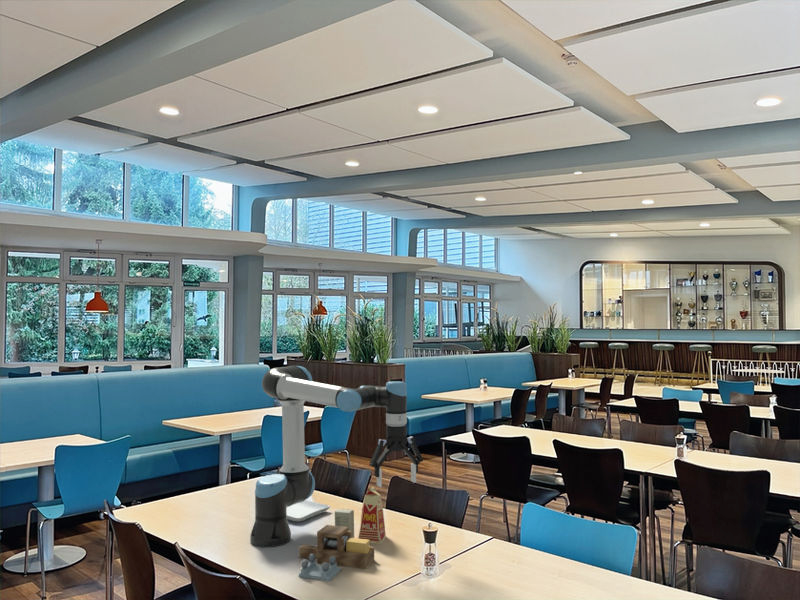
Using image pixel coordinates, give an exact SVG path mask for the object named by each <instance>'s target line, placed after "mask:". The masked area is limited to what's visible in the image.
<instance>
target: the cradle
mask: <svg viewBox="0 0 800 600" xmlns="http://www.w3.org/2000/svg"><path fill="white" fill-rule="evenodd" d="M315 558H316V556H315V554H310V556H309V558H308V559H302V561H301V568H300V572H299V573H298V577H299V578H305V579H313V580H319V581H320V580H321V581H326V582H327V581H328V582H331V581H332V580H333V579H334V577H336V576H337V575H338V574H339V573H340V572H341V570H342V567H341V566H338V565H337V562H336V557H335V556H330V558H329V563H330V564H329V563H326V562H324V563H322V564H318V563H317V559H315Z"/></svg>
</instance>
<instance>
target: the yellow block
mask: <svg viewBox="0 0 800 600" xmlns="http://www.w3.org/2000/svg"><path fill="white" fill-rule="evenodd" d="M370 544H371V543H370V540H368V539H359V538H358V537H354V538H350V539H349V540H347V541H346V551H348V552H356V553H365V554H367V553H368V552H369V551H370V546H371V545H370Z"/></svg>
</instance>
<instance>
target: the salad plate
mask: <svg viewBox="0 0 800 600" xmlns="http://www.w3.org/2000/svg"><path fill="white" fill-rule="evenodd" d="M330 508H331V505H330V504H324V503H320V502H316V501H311V500H308V499H306V500H304V501H303V502H300V503H296V504H294V505H291V506H289V507H287V515H286V517H287V519H288V520H287V521H290V520H292V522H295V521H296V522H295V523H297V522H303V521H306V520H308V519H309V518H310V517H311V518H314V517H315V515H316V516H318V515H321V514H322V513H324V512H326V511H328V510H330Z"/></svg>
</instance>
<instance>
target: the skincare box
mask: <svg viewBox="0 0 800 600" xmlns="http://www.w3.org/2000/svg"><path fill="white" fill-rule="evenodd" d="M354 512H355V511H354V509H349V508H347V509H345V508H338V509H337V510H335V511H334V526H342V527H348V531H352V538H355V513H354Z"/></svg>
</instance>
